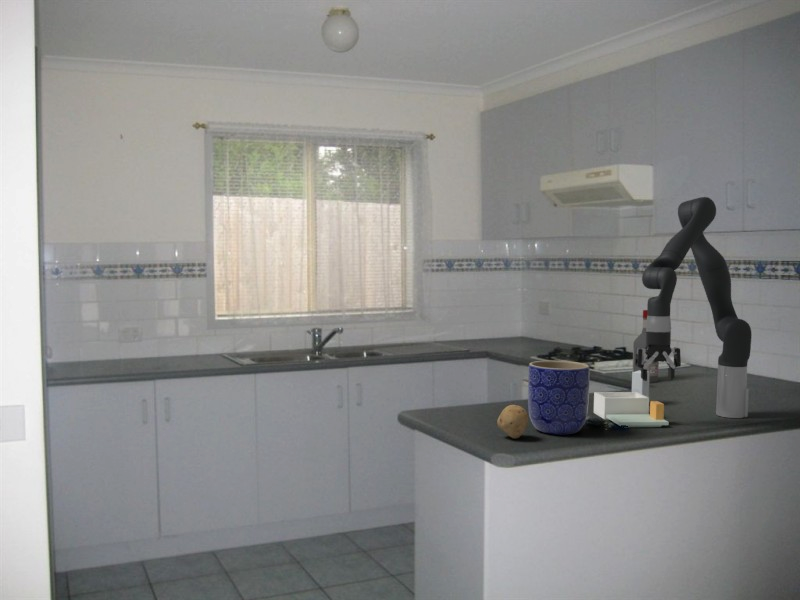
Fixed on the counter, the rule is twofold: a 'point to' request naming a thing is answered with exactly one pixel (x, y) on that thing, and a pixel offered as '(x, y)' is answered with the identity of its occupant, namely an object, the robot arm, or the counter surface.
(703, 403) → the counter surface
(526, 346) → the counter surface
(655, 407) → the lid
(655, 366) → the liquor
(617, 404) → the tub
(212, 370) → the counter surface
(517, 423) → the potato
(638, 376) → the skincare box
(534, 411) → the planter
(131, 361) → the counter surface
